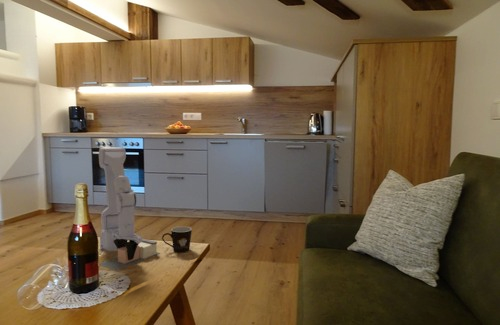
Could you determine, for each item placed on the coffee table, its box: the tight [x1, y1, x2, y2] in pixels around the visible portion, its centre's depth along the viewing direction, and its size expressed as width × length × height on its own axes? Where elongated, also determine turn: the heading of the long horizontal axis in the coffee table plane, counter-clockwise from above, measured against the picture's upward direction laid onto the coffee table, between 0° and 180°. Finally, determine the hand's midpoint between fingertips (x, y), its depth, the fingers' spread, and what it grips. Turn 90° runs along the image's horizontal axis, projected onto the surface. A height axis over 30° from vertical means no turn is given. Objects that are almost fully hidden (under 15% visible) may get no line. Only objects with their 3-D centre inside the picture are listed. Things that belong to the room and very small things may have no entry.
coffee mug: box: [161, 226, 193, 254], centre depth 149 cm, size 12×9×10 cm
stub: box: [117, 246, 139, 263], centre depth 137 cm, size 4×7×5 cm, turn 150°
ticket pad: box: [138, 238, 158, 260], centre depth 143 cm, size 9×7×5 cm
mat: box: [98, 251, 161, 272], centre depth 138 cm, size 11×22×1 cm, turn 150°
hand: (126, 258), depth 136 cm, fingers closed on stub, 4 cm apart
